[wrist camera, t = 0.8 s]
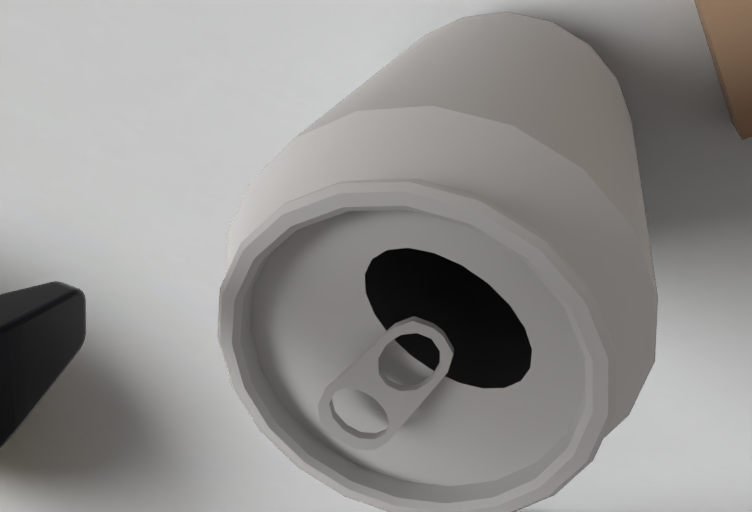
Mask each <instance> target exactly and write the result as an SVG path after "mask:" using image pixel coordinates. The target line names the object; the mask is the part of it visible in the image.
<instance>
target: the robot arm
mask: <svg viewBox="0 0 752 512" xmlns="http://www.w3.org/2000/svg"><path fill="white" fill-rule="evenodd" d="M85 335H86V300H85V295H84V293H83V291H81V290H80V289H78V288H75V287H73V286H70V285H68V284H65V283H62V282H50V283H46V284H42V285H37V286H33V287H29V288H25V289H21V290H17V291H13V292H9V293H5V294H0V448H1V447H2V446H3V445H4V443H5V442H6V441H7V440H8V439H9V438H10V437H11V436H12V435H13V434H14V432H15V431H16V430H17V429H18V428H19V427H20V425H21V424H22V423H23V422H24V421H25V419H26V418H27V417H28V416H29V414H30V413H31V412H32V411H33V409H34V408H35V407H36V405H37V404H38V403H39V401H40V400H41V399H42V398H43V396H44V395H45V394H46V392H47V391H48V390H49V389H50V387H51V386H52V385H53V383H54V382H55V381H56V380H57V378H58V377H59V376H60V374H61V373H62V372H63V371H64V369H65V368H66V367H67V365H68V364H69V363H70V362H71V360H72V359H73V358H74V356H75V355H76V354H77V353H78V351H79V350H80V348H81V346H82V345H83V342H84V340H85Z"/></svg>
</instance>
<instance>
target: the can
mask: <svg viewBox="0 0 752 512" xmlns="http://www.w3.org/2000/svg"><path fill="white" fill-rule="evenodd" d="M657 305H658V294H657V287H656V281H655V274H654V267H653V261H652V254H651V247H650V241H649V234H648V227H647V221H646V214H645V207H644V201H643V194H642V187H641V180H640V174H639V167H638V160H637V154H636V147H635V140H634V134H633V127H632V120H631V117H630V114H629V111H628V109H627V106H626V103H625V100H624V97H623V94H622V91H621V88H620V85H619V82H618V79H617V78H616V77H615V76H614V74H613V73H612V72H611V71H610V69H609V68H608V67H607V66H606V64H605V63H604V62H603V61H602V59H601V58H600V57H599V56H598V54H597V53H596V52H595V51H594V49H593V48H592V47H591V46H590V45H589V44H587V43H586V42H584V41H582V40H581V39H579V38H577V37H576V36H574V35H573V34H571V33H569V32H568V31H566V30H564V29H563V28H561V27H560V26H558V25H556V24H555V23H553V22H551V21H546V20H542V19H537V18H533V17H528V16H524V15H519V14H514V13H510V12H504V13H495V14H486V15H477V16H468V17H463V18H460V19H458V20H456V21H454V22H452V23H450V24H448V25H446V26H443V27H441V28H439V29H437V30H435V31H433V32H431V33H428V34H426V35H425V36H423V37H422V38H421V39H419V40H418V41H417V42H416V43H414V44H413V45H412V46H411V47H409V48H408V49H407V50H405V51H404V52H403V53H402V54H400V55H399V56H398V57H397V58H395V59H394V60H393V61H392V62H390V63H389V64H388V65H386V66H385V67H384V68H383V69H381V70H380V71H379V72H378V73H376V74H375V75H374V76H373V77H371V78H370V79H369V80H367V81H366V82H365V83H364V84H362V85H361V86H360V87H359V88H357V89H356V90H355V91H353V92H352V93H351V94H350V95H348V96H347V97H346V98H345V99H343V100H342V101H341V102H340V103H338V104H337V105H336V106H334V107H333V108H332V109H331V110H329V111H328V112H327V113H326V114H324V115H323V116H322V117H321V118H319V119H318V120H317V121H315V122H314V123H313V124H312V125H310V126H309V127H308V128H307V129H305V130H304V131H303V132H301V133H300V134H299V135H298V136H296V137H295V138H294V139H293V140H292V141H291V142H290V143H289V144H288V145H287V146H286V147H285V148H284V149H283V150H282V151H281V152H280V153H279V154H278V155H277V156H276V157H275V158H274V159H273V160H272V161H271V162H270V163H269V164H267V165H266V166H265V167H264V168H263V169H262V170H261V171H260V172H259V173H258V174H257V175H256V176H255V177H254V178H253V179H252V180H251V181H250V183H249V185H248V188H247V190H246V192H245V194H244V197H243V199H242V201H241V204H240V206H239V208H238V210H237V213H236V215H235V217H234V220H233V222H232V224H231V226H230V229H229V231H228V233H227V250H226V269H225V278H224V280H223V283H222V285H221V287H220V296H219V317H218V341H219V344H220V347H221V351H222V354H223V358H224V361H225V365H226V368H227V372H228V375H229V378H230V382H231V385H232V387H233V388H234V390H235V392H236V393H237V395H238V396H239V398H240V400H241V401H242V403H243V404H244V406H245V408H246V409H247V411H248V412H249V414H250V415H251V417H252V419H253V420H254V422H255V423H256V425H257V427H258V428H259V430H260V431H261V432H262V433H263V434H264V435H265V436H266V437H267V438H268V439H269V440H270V441H271V442H273V443H274V444H275V445H276V446H277V447H278V448H279V449H280V450H281V451H282V452H283V453H284V454H285V455H286V456H287V457H288V458H289V459H290V460H291V461H292V462H293V463H294V464H295V465H296V466H297V467H298V468H300V469H301V470H303V471H305V472H306V473H308V474H309V475H311V476H313V477H314V478H316V479H318V480H319V481H321V482H322V483H324V484H326V485H327V486H329V487H331V488H332V489H334V490H335V491H337V492H339V493H340V494H342V495H343V496H346V497H348V498H351V499H354V500H357V501H360V502H362V503H365V504H368V505H371V506H373V507H376V508H379V509H382V510H385V511H387V512H515V511H517V510H520V509H522V508H524V507H527V506H529V505H532V504H534V503H536V502H539V501H541V500H544V499H546V498H548V497H551V496H553V495H555V494H556V493H557V492H558V491H560V490H561V489H562V488H563V487H564V486H565V485H566V484H567V483H568V482H570V481H571V480H572V479H573V478H574V477H575V476H576V475H577V474H578V473H579V472H581V471H582V470H583V469H584V468H585V467H586V466H587V465H588V464H589V463H591V462H592V461H593V459H594V457H595V455H596V453H597V451H598V449H599V446H600V444H601V442H602V440H603V438H604V437H606V436H607V435H608V434H609V433H610V432H611V431H612V430H613V429H614V428H615V427H616V426H618V425H619V424H620V423H621V422H622V421H623V420H624V419H625V418H626V417H627V416H628V415H629V414H630V412H631V410H632V407H633V405H634V403H635V401H636V399H637V397H638V395H639V393H640V391H641V389H642V387H643V385H644V383H645V381H646V378H647V376H648V374H649V372H650V370H651V368H652V366H653V364H654V362H655V348H656V326H657Z"/></svg>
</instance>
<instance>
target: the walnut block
mask: <svg viewBox="0 0 752 512" xmlns="http://www.w3.org/2000/svg"><path fill="white" fill-rule="evenodd" d="M695 4H696V7H697V10H698V13H699V17H700V20H701V23H702V26H703V29H704V33H705V36H706V39H707V42H708V45H709V49H710V52H711V55H712V58H713V62H714V65H715V68H716V71H717V74H718V78H719V81H720V84H721V87H722V91H723V94H724V97H725V100H726V103H727V107H728V110H729V113H730V116H731V120H732V123H733V125H734V126H735V128H736V130H737V132H738V133H739V135H740V137H741V138H742V140H743V139H746V138H749V137H752V0H695Z"/></svg>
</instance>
